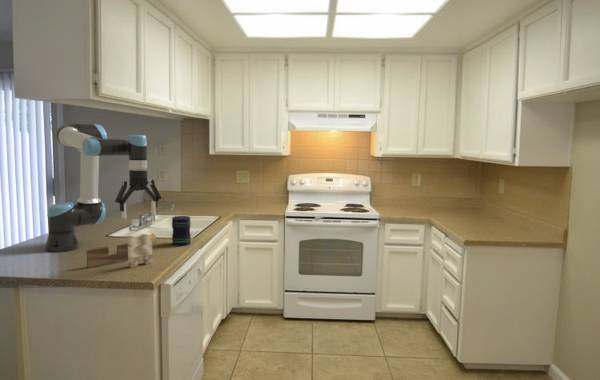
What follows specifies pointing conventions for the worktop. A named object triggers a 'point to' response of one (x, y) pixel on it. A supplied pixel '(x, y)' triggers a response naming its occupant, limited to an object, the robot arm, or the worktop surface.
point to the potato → (153, 239)
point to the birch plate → (139, 249)
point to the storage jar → (181, 230)
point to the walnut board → (106, 256)
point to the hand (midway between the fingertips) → (139, 216)
